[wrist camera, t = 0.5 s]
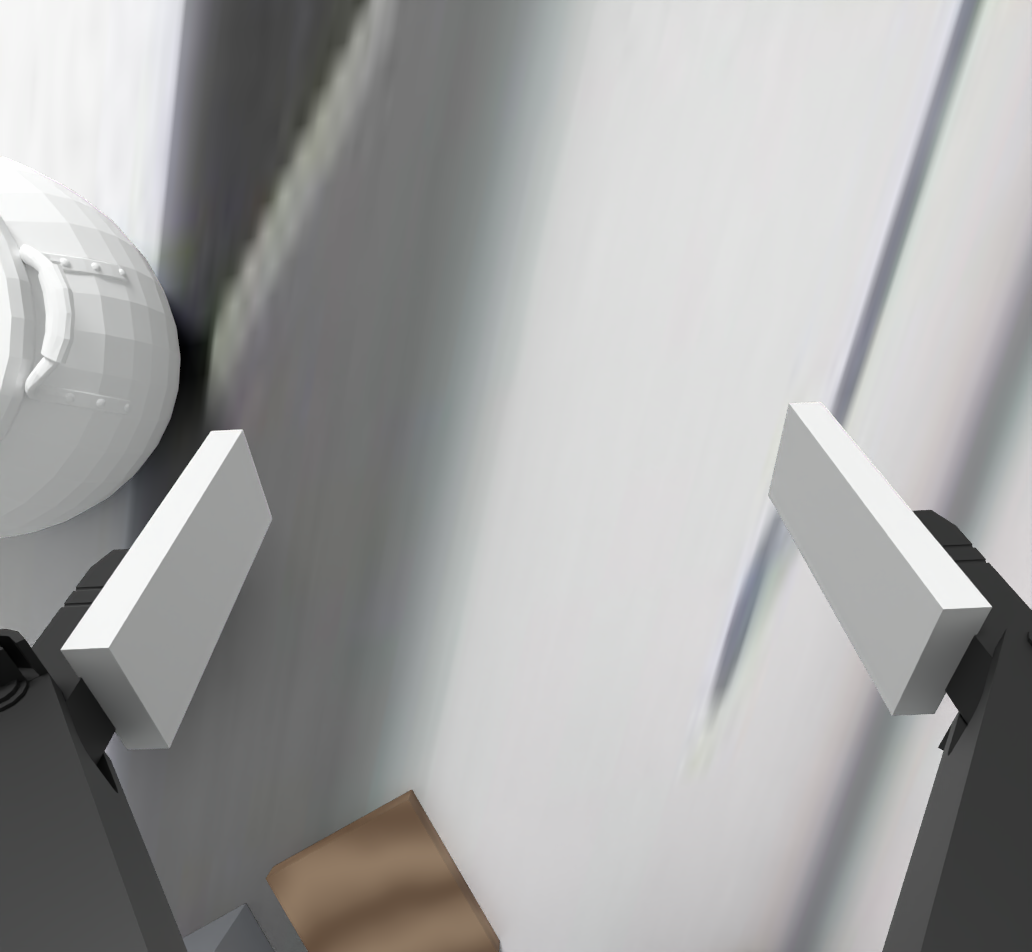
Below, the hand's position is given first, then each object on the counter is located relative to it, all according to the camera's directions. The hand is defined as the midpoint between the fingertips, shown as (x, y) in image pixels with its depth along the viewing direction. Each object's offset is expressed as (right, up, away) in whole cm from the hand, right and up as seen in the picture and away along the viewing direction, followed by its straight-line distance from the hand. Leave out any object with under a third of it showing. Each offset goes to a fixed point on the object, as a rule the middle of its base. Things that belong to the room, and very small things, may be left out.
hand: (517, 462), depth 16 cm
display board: (-10, -35, +36) cm, 51 cm away
